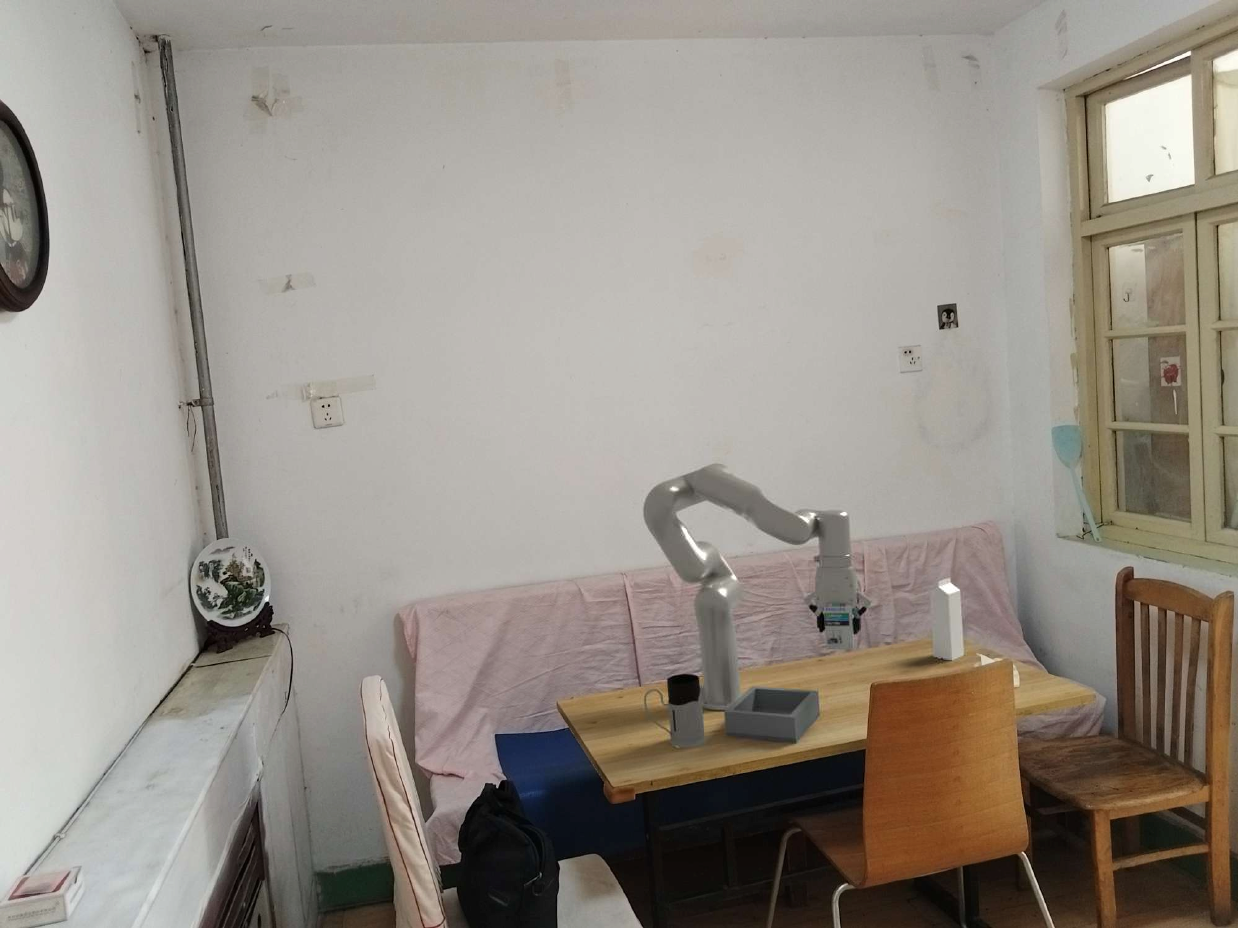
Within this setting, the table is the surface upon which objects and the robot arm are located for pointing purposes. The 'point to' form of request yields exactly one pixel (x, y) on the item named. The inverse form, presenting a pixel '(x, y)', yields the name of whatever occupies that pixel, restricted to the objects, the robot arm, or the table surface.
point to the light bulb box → (838, 626)
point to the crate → (772, 714)
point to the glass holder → (683, 711)
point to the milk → (946, 621)
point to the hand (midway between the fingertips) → (839, 631)
